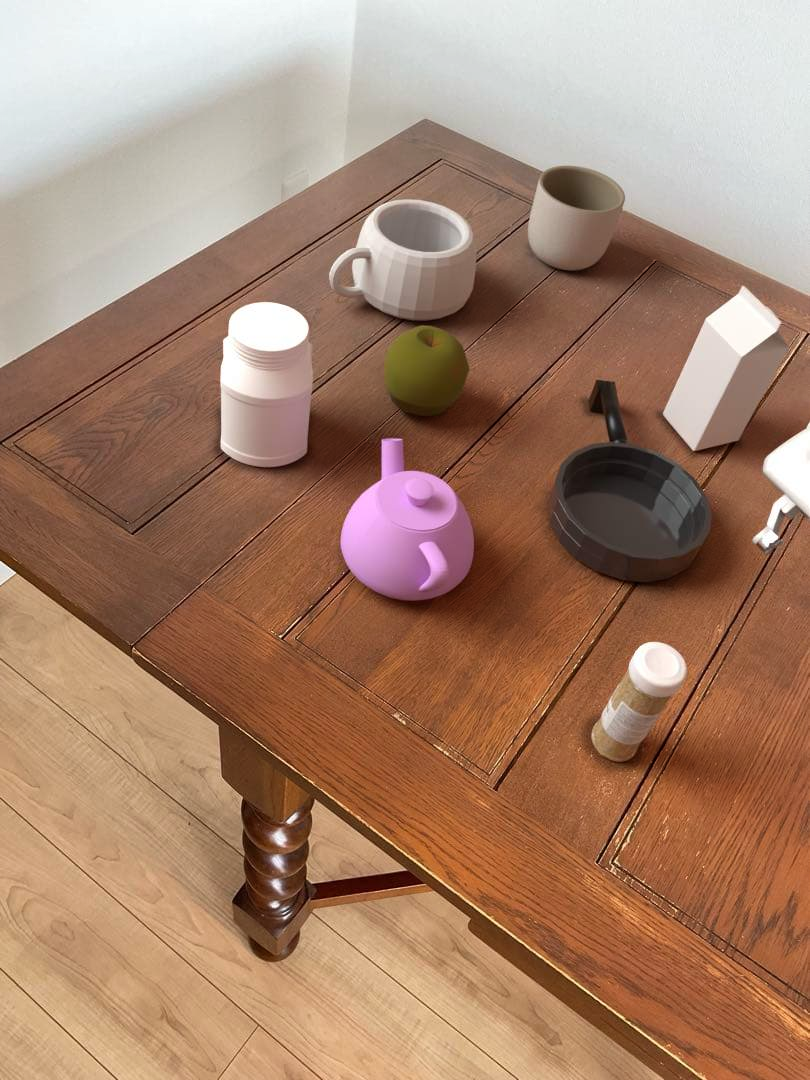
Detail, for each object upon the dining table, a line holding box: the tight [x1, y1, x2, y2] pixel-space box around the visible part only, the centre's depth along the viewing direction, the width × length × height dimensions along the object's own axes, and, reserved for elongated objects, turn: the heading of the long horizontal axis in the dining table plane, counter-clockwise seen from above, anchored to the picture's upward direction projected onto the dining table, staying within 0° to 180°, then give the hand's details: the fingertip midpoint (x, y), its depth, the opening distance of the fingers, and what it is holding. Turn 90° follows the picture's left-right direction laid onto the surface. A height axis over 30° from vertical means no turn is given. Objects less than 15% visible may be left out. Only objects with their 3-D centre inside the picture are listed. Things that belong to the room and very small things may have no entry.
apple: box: [383, 325, 470, 417], centre depth 114 cm, size 10×10×11 cm
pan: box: [546, 441, 713, 583], centre depth 108 cm, size 17×17×4 cm
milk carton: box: [662, 285, 790, 452], centre depth 116 cm, size 7×7×19 cm
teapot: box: [340, 438, 475, 602], centre depth 98 cm, size 14×20×11 cm
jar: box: [219, 301, 314, 468], centre depth 105 cm, size 12×10×15 cm
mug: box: [328, 198, 477, 322], centre depth 129 cm, size 21×17×10 cm
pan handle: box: [588, 379, 629, 444], centre depth 117 cm, size 2×13×5 cm, turn 0°
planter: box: [527, 165, 626, 271], centre depth 141 cm, size 12×12×11 cm
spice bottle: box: [590, 641, 688, 763], centre depth 86 cm, size 5×5×14 cm
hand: (796, 587), depth 82 cm, fingers open, 8 cm apart
